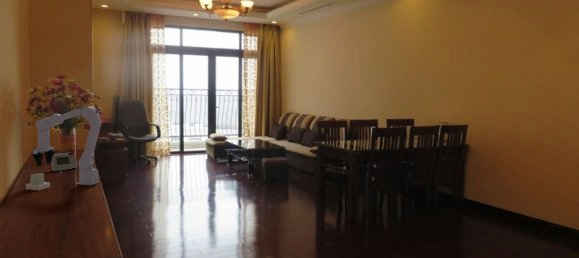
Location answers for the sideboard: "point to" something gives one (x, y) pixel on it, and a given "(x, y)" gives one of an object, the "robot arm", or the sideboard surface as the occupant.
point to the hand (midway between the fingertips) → (44, 164)
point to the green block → (37, 178)
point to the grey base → (38, 186)
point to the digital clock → (63, 162)
